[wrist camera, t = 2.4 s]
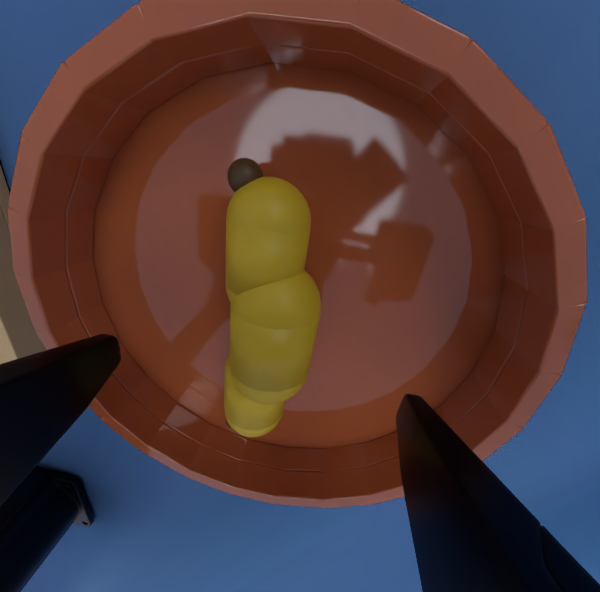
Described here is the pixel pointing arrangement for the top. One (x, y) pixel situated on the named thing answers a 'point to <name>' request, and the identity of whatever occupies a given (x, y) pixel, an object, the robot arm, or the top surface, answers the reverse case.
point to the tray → (12, 297)
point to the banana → (266, 298)
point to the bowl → (322, 241)
